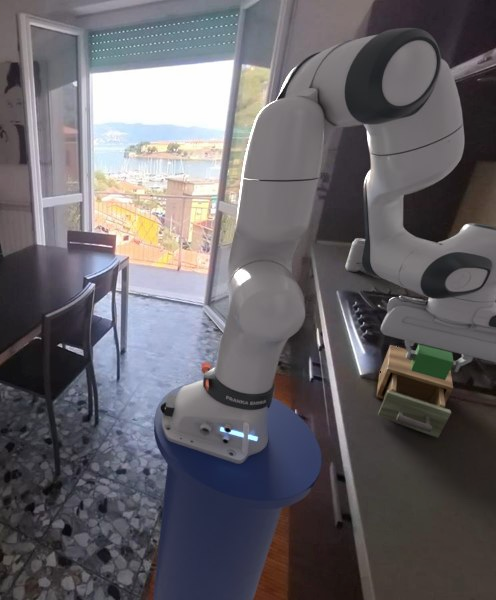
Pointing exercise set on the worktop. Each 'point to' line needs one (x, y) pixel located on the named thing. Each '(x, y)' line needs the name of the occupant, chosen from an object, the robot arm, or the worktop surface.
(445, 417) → the drawer
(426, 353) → the block
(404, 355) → the cabinet
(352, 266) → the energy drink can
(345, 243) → the worktop surface
